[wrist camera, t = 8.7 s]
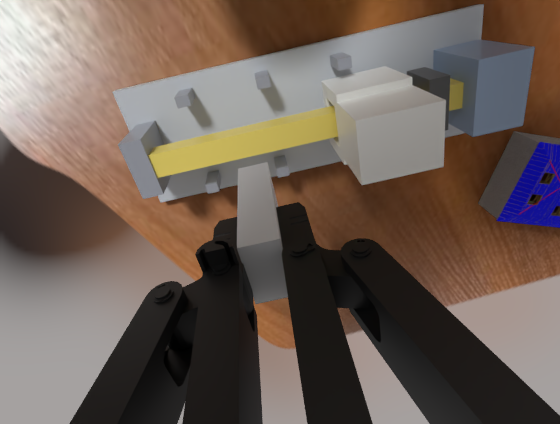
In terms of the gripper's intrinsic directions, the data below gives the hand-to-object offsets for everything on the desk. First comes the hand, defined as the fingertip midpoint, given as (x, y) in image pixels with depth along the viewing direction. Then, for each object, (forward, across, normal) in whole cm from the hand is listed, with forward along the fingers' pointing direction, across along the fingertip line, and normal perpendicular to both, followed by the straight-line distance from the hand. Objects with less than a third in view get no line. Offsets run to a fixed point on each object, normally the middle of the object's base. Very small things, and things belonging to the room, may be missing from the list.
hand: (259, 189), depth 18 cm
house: (+14, +29, -12) cm, 35 cm away
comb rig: (+14, +4, -1) cm, 15 cm away
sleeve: (+12, +8, -1) cm, 15 cm away
